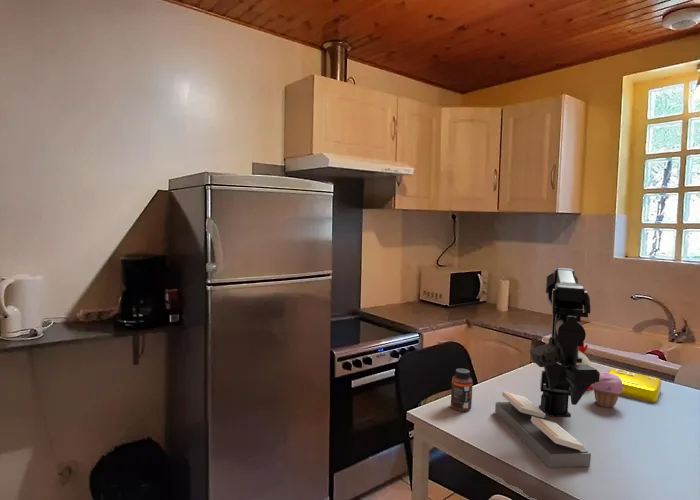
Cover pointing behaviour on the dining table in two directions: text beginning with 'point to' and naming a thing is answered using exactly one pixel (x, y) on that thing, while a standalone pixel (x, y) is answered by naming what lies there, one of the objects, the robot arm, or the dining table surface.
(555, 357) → the robot arm
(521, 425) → the grey switch panel
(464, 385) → the supplement bottle
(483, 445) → the dining table surface
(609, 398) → the cupcake
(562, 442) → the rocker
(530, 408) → the rocker
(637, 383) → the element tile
